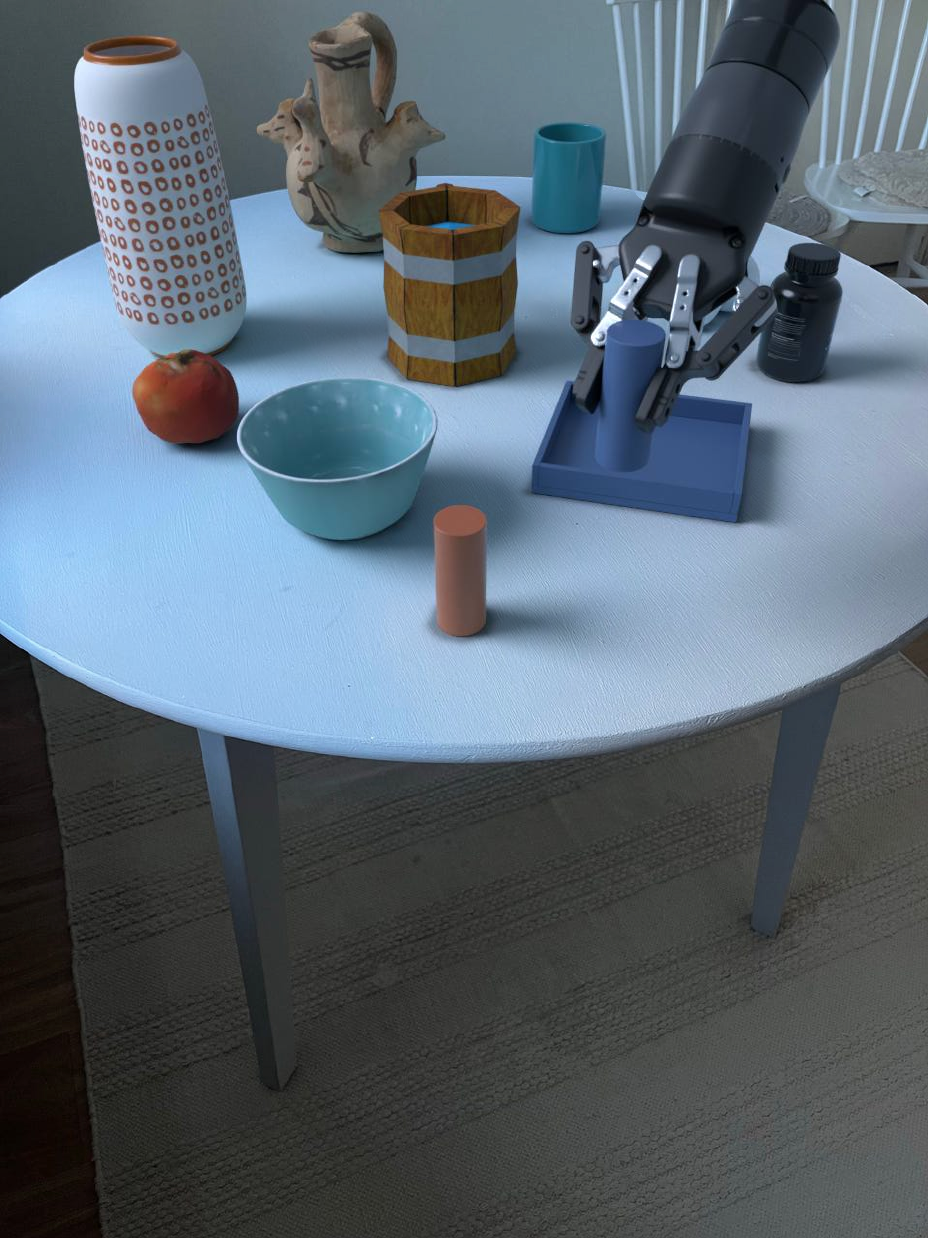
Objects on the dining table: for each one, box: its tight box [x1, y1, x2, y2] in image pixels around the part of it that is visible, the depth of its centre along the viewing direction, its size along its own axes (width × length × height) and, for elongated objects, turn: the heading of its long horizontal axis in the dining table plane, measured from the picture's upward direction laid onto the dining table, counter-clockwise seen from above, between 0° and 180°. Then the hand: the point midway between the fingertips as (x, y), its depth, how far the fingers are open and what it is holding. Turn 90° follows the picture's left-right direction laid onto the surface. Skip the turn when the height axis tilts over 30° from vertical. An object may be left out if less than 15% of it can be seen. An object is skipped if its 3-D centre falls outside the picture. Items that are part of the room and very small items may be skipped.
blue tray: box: [530, 380, 753, 523], centre depth 89 cm, size 17×15×3 cm
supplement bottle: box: [755, 242, 844, 383], centre depth 98 cm, size 7×7×12 cm
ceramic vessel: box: [256, 11, 447, 253], centre depth 120 cm, size 18×19×25 cm
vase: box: [73, 35, 248, 359], centre depth 98 cm, size 13×13×28 cm
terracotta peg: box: [433, 504, 488, 637], centre depth 70 cm, size 4×4×9 cm
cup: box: [530, 121, 607, 234], centre depth 131 cm, size 9×12×11 cm
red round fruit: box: [131, 349, 240, 445], centre depth 91 cm, size 9×9×8 cm
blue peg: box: [595, 320, 667, 472], centre depth 64 cm, size 4×4×9 cm
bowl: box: [236, 376, 438, 541], centre depth 81 cm, size 16×16×8 cm
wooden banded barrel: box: [378, 182, 521, 388], centre depth 102 cm, size 20×14×15 cm
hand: (613, 417), depth 63 cm, fingers closed on blue peg, 3 cm apart
